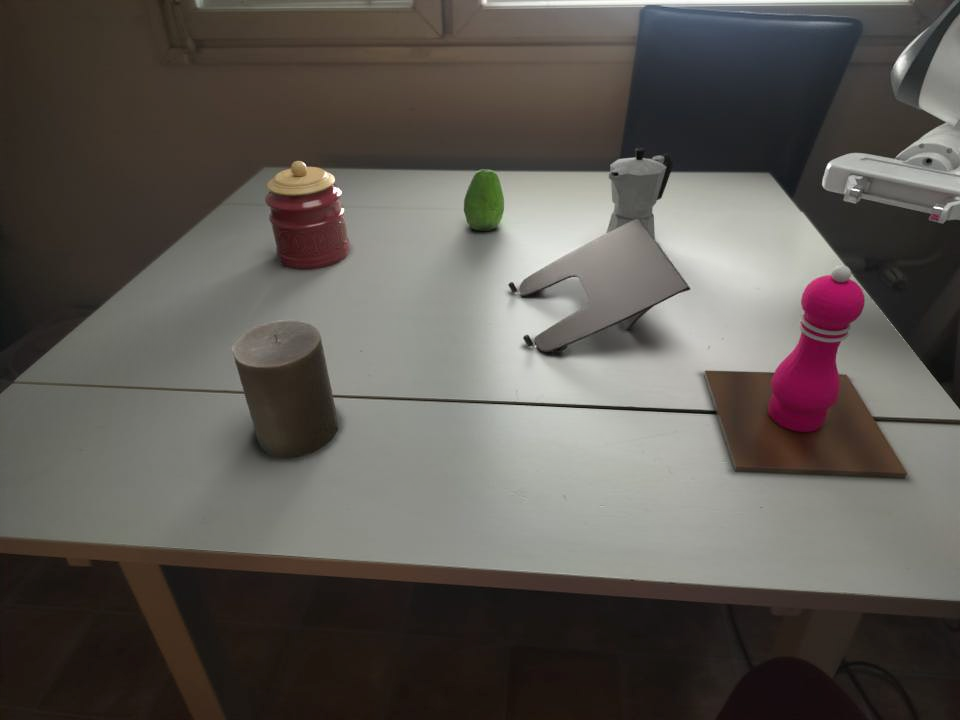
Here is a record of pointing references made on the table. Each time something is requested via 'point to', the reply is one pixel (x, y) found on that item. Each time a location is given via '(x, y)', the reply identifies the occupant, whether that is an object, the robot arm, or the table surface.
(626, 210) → the coffeepot
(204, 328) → the table surface
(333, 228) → the kitchen canister
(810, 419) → the pepper mill
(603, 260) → the laptop tray
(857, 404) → the walnut board
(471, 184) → the avocado
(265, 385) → the pillar candle
